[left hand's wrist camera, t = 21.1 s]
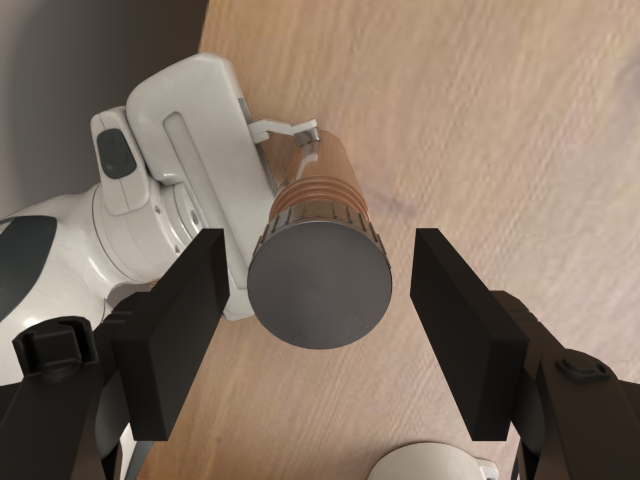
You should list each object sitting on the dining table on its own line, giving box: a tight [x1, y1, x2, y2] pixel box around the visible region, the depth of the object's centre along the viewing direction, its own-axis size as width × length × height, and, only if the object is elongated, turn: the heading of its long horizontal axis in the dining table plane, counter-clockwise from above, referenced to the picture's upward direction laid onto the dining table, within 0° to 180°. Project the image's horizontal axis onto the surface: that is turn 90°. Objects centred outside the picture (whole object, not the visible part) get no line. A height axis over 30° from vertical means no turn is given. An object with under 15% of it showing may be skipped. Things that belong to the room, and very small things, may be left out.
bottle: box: [268, 131, 371, 224], centre depth 24 cm, size 5×5×24 cm
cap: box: [247, 199, 392, 349], centre depth 13 cm, size 5×5×2 cm
